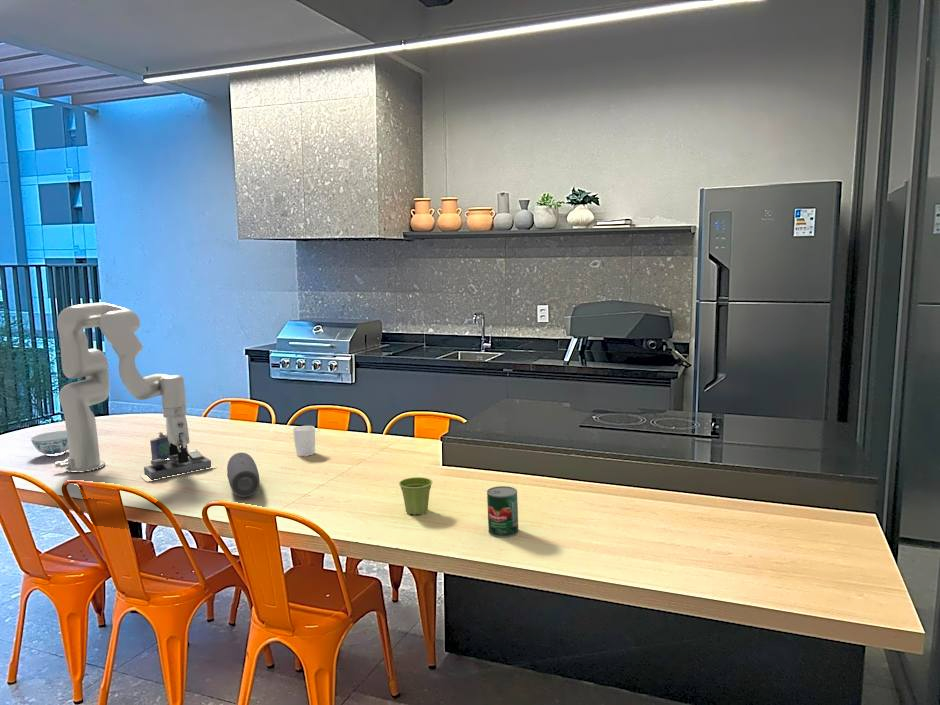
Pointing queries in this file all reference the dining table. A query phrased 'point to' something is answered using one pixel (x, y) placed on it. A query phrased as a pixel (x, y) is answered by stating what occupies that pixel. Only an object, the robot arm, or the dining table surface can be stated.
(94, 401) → the robot arm
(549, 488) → the dining table surface
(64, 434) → the chinaware
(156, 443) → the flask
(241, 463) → the bluetooth speaker
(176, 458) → the rocker middle
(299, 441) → the white cup
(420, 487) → the plant pot
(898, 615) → the dining table surface
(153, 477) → the power strip
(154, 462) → the rocker left
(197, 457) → the rocker right
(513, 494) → the canned tomato
